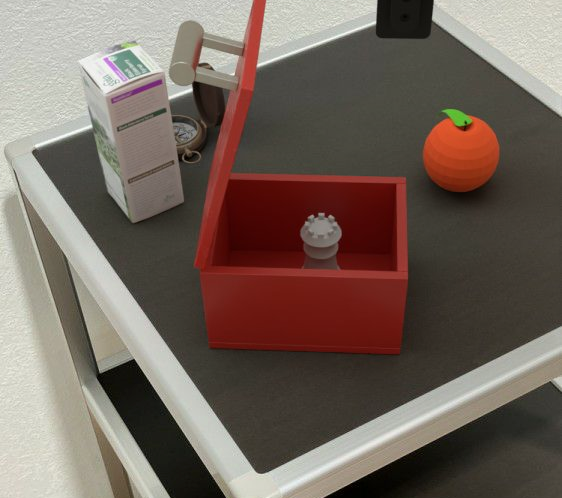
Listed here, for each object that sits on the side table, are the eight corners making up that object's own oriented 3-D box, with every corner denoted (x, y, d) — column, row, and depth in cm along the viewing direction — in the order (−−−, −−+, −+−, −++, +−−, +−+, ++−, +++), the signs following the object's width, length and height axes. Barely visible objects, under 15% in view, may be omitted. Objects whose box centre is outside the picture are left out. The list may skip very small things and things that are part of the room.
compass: (135, 135, 97) (124, 72, 92) (206, 111, 99) (200, 48, 94) (166, 180, 93) (156, 117, 87) (240, 154, 95) (235, 91, 89)
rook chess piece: (312, 321, 80) (312, 251, 74) (284, 288, 82) (281, 217, 76) (357, 300, 81) (360, 229, 75) (328, 268, 84) (329, 197, 78)
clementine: (400, 166, 93) (406, 104, 88) (462, 145, 95) (471, 83, 89) (444, 216, 89) (452, 154, 83) (508, 193, 90) (520, 131, 85)
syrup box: (186, 202, 91) (169, 68, 79) (130, 226, 89) (104, 92, 78) (158, 170, 94) (137, 35, 83) (103, 192, 92) (74, 58, 81)
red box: (398, 254, 86) (406, 176, 79) (399, 355, 79) (408, 279, 72) (223, 249, 87) (216, 172, 80) (209, 348, 79) (199, 272, 73)
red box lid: (267, -10, 67) (191, -31, 66) (253, 91, 60) (167, 68, 59) (220, 169, 80) (155, 153, 79) (204, 269, 72) (132, 253, 71)
